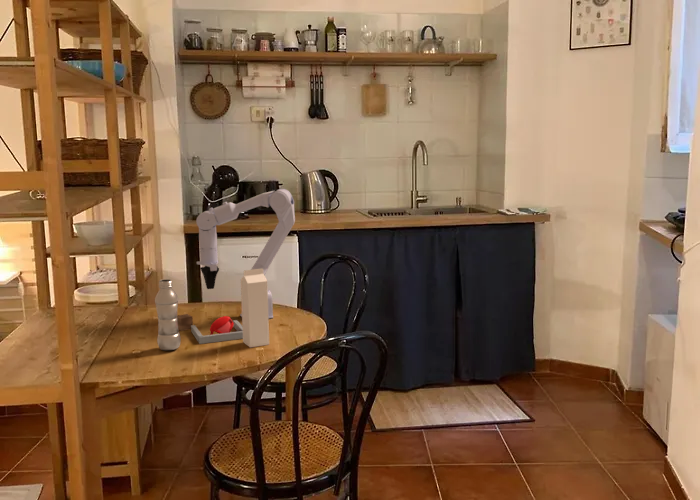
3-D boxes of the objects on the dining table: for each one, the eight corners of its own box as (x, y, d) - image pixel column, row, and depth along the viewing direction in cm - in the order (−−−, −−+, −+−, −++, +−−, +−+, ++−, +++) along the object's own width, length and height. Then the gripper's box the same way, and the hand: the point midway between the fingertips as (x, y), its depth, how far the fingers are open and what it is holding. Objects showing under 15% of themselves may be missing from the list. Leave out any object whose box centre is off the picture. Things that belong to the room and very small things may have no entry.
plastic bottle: (160, 354, 192) (156, 284, 188) (155, 347, 198) (151, 279, 194) (183, 350, 195) (179, 281, 191) (177, 344, 200) (174, 277, 197)
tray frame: (237, 326, 219) (236, 320, 218) (248, 337, 206) (247, 331, 206) (191, 331, 213) (191, 325, 213) (199, 344, 201) (199, 337, 200)
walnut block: (187, 326, 220) (186, 313, 219) (193, 328, 217) (192, 316, 216) (175, 328, 217) (175, 316, 217) (181, 331, 214) (180, 318, 214)
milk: (242, 342, 202) (239, 268, 198) (262, 339, 205) (259, 266, 201) (250, 347, 196) (246, 272, 193) (270, 344, 199) (267, 269, 196)
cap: (234, 321, 212) (216, 312, 211) (237, 319, 207) (219, 310, 206) (222, 344, 210) (204, 336, 209) (225, 343, 204) (207, 334, 203)
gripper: (192, 245, 230) (194, 285, 233) (200, 252, 217) (202, 294, 219) (213, 244, 233) (215, 283, 235) (222, 250, 220) (224, 292, 222)
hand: (210, 288), depth 228 cm, fingers closed
